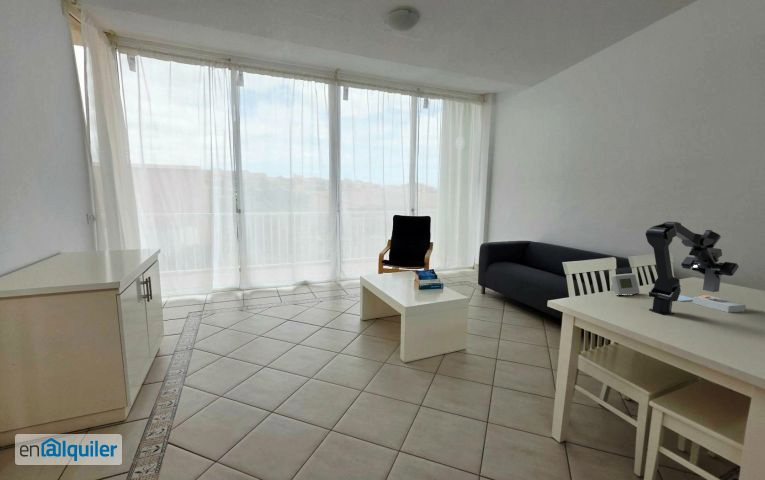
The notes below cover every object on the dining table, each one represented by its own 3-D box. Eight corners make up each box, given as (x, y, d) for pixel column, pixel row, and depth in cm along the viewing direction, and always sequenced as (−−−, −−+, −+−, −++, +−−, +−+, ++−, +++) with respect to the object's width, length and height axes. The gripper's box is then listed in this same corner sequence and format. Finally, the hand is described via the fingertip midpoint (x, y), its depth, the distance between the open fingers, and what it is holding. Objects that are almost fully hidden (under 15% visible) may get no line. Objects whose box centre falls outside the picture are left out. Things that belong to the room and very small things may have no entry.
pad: (680, 301, 159) (681, 300, 159) (659, 295, 168) (660, 294, 168) (696, 300, 161) (697, 299, 160) (675, 294, 170) (675, 293, 170)
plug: (713, 292, 151) (717, 262, 149) (702, 289, 155) (706, 261, 153) (718, 291, 152) (722, 262, 150) (708, 289, 156) (711, 260, 154)
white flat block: (727, 312, 143) (729, 304, 143) (692, 302, 157) (693, 295, 157) (744, 311, 145) (746, 303, 145) (708, 301, 159) (709, 294, 159)
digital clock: (616, 296, 166) (618, 276, 165) (603, 292, 175) (604, 273, 174) (645, 296, 168) (647, 276, 167) (630, 291, 177) (632, 272, 176)
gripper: (739, 245, 141) (750, 268, 146) (687, 240, 158) (698, 261, 163) (726, 264, 139) (737, 286, 144) (675, 256, 157) (687, 277, 161)
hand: (714, 277), depth 153 cm, fingers closed on plug, 4 cm apart
